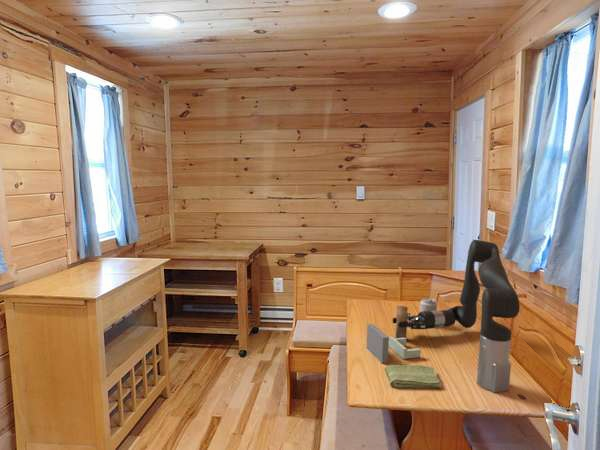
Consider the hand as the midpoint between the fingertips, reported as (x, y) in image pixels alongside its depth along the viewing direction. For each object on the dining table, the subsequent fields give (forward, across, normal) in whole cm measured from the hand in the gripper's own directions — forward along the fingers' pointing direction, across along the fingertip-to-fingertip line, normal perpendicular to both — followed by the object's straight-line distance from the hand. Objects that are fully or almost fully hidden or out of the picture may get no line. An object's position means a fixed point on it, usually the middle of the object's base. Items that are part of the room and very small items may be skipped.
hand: (395, 322), depth 175 cm
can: (-24, -13, +8) cm, 28 cm away
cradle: (+2, +12, +7) cm, 14 cm away
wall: (+14, +12, +8) cm, 20 cm away
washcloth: (+10, +32, +8) cm, 35 cm away
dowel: (-3, 0, +8) cm, 8 cm away
